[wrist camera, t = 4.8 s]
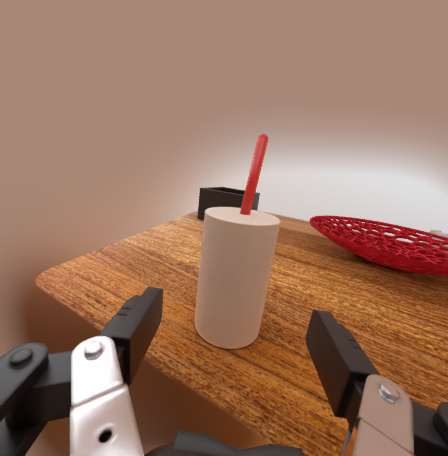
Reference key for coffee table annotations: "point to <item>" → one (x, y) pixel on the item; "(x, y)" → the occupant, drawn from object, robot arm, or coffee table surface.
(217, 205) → the bin
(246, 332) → the paper cup
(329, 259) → the coffee table surface
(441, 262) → the bowl
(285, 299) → the coffee table surface
